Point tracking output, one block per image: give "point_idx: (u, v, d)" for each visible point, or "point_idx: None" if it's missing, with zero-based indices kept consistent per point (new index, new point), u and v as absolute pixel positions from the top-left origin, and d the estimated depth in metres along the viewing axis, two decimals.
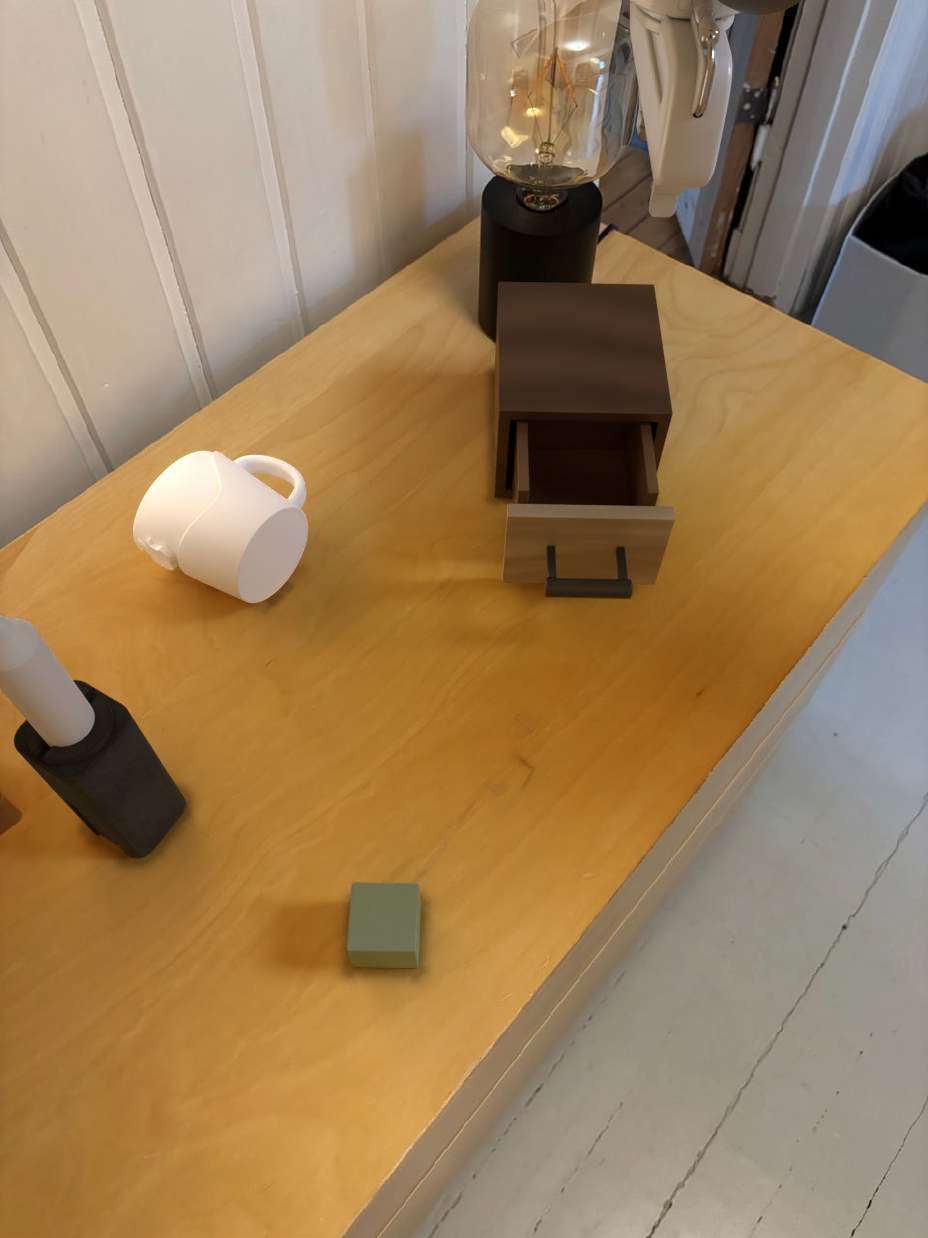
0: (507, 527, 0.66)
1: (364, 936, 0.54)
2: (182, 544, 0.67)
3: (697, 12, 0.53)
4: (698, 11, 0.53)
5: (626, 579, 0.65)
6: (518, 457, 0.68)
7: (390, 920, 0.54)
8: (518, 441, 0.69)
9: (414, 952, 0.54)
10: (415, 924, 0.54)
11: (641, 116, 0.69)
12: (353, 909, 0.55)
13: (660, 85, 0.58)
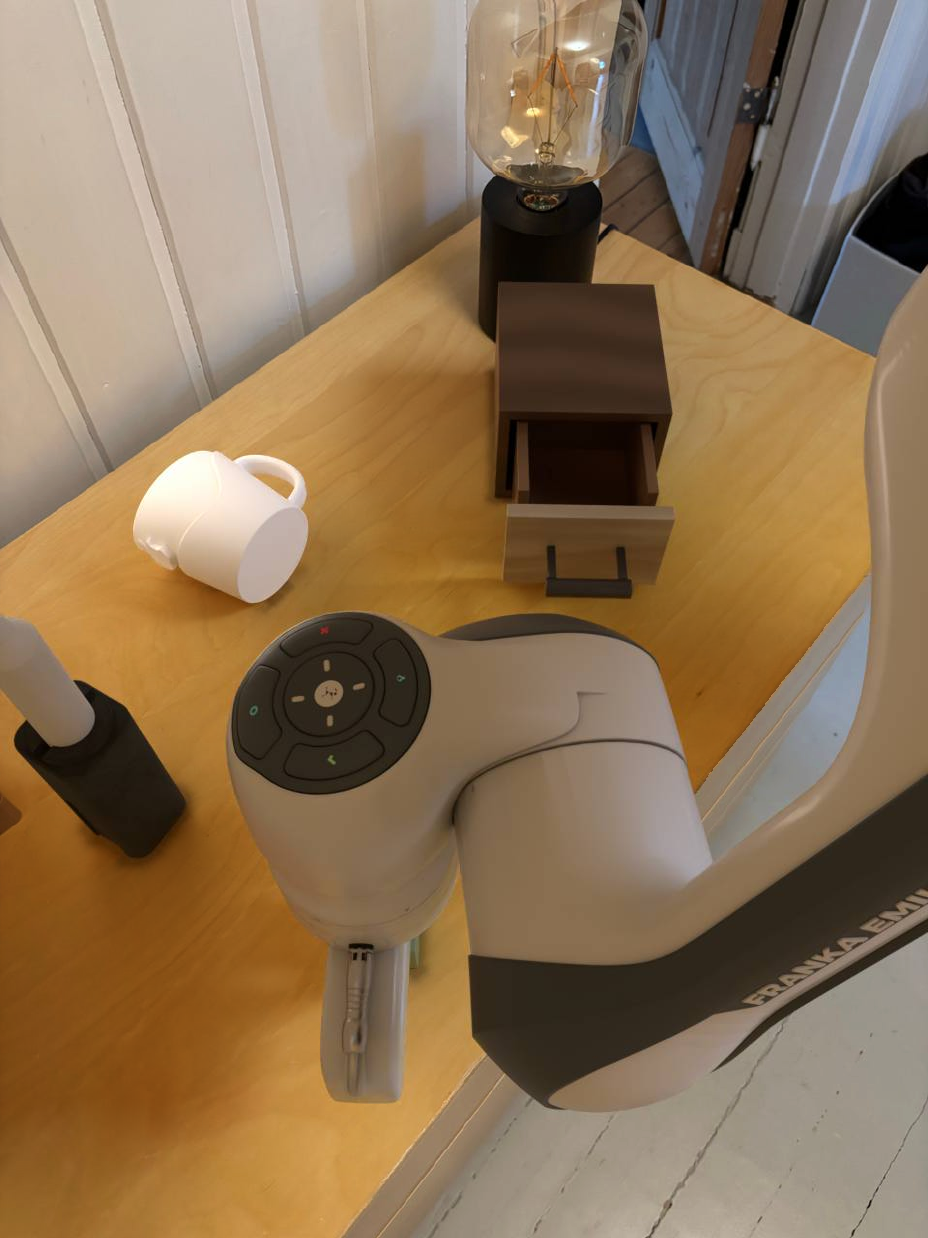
0: (507, 527, 0.66)
1: None
2: (182, 544, 0.67)
3: (346, 991, 0.42)
4: (347, 990, 0.42)
5: (626, 579, 0.65)
6: (518, 457, 0.68)
7: None
8: (518, 441, 0.69)
9: (414, 952, 0.54)
10: None
11: None
12: None
13: None
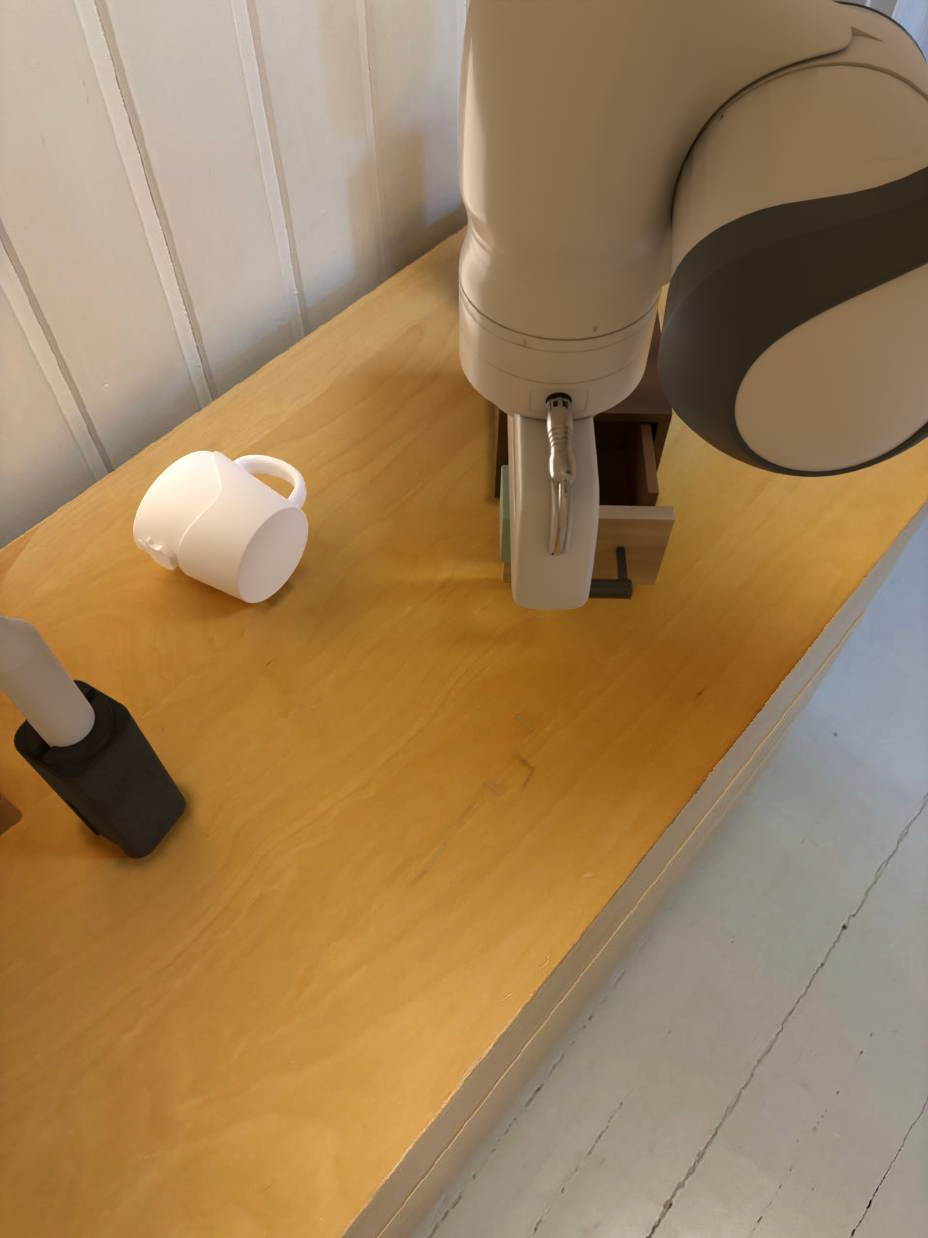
0: None
1: None
2: (182, 544, 0.67)
3: (549, 433, 0.40)
4: (550, 432, 0.40)
5: (626, 579, 0.65)
6: None
7: None
8: None
9: None
10: None
11: None
12: (506, 485, 0.53)
13: None
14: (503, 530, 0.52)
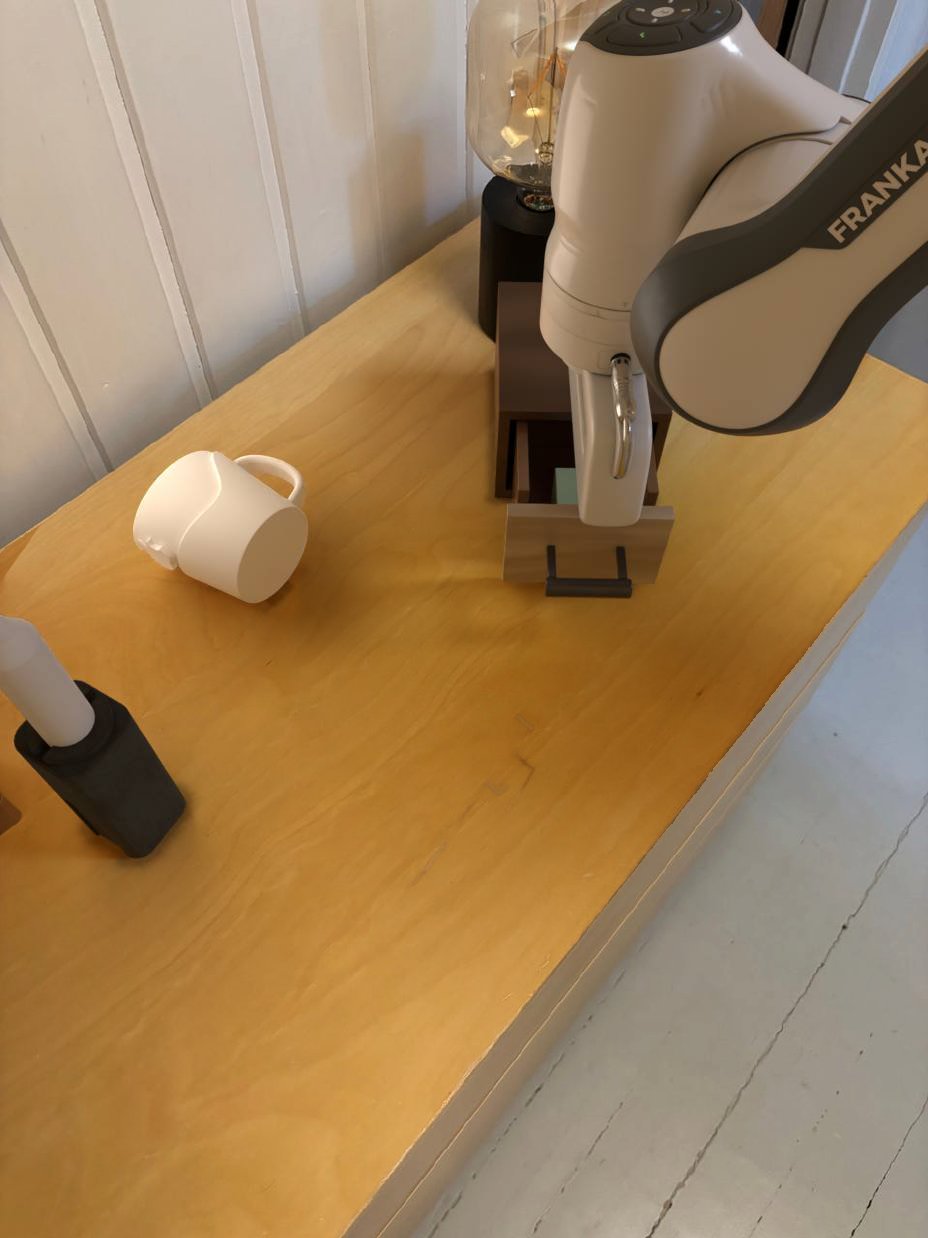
0: (507, 527, 0.66)
1: (569, 499, 0.69)
2: (182, 544, 0.67)
3: (615, 383, 0.52)
4: (615, 382, 0.52)
5: (626, 579, 0.65)
6: (518, 457, 0.68)
7: None
8: (518, 441, 0.69)
9: None
10: None
11: None
12: (558, 483, 0.70)
13: (584, 426, 0.57)
14: None
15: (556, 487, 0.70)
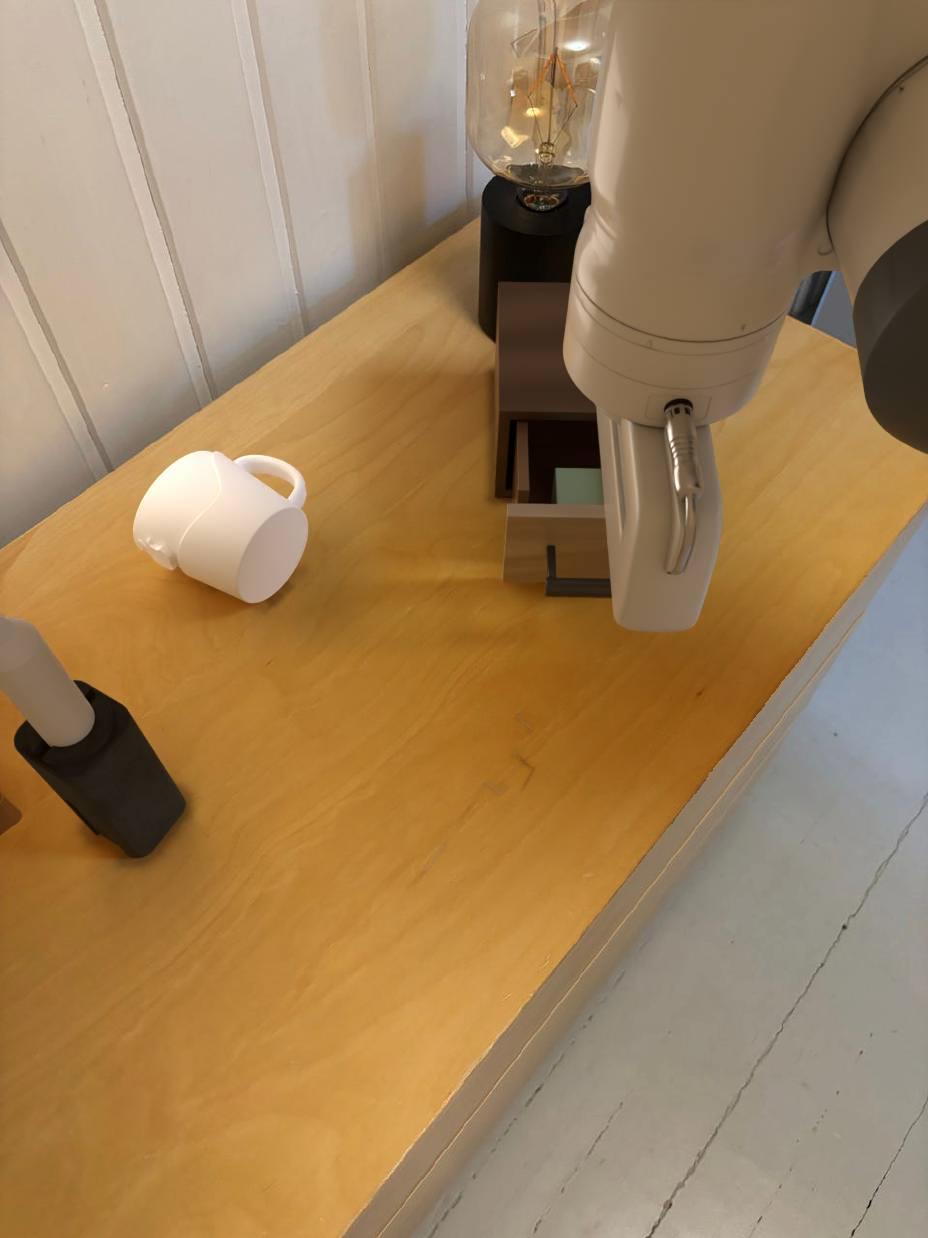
0: (507, 527, 0.66)
1: (569, 499, 0.69)
2: (182, 544, 0.67)
3: (672, 442, 0.37)
4: (672, 441, 0.37)
5: None
6: (518, 457, 0.68)
7: (589, 490, 0.70)
8: (518, 441, 0.69)
9: None
10: None
11: None
12: (558, 483, 0.70)
13: (623, 493, 0.42)
14: None
15: (556, 487, 0.70)
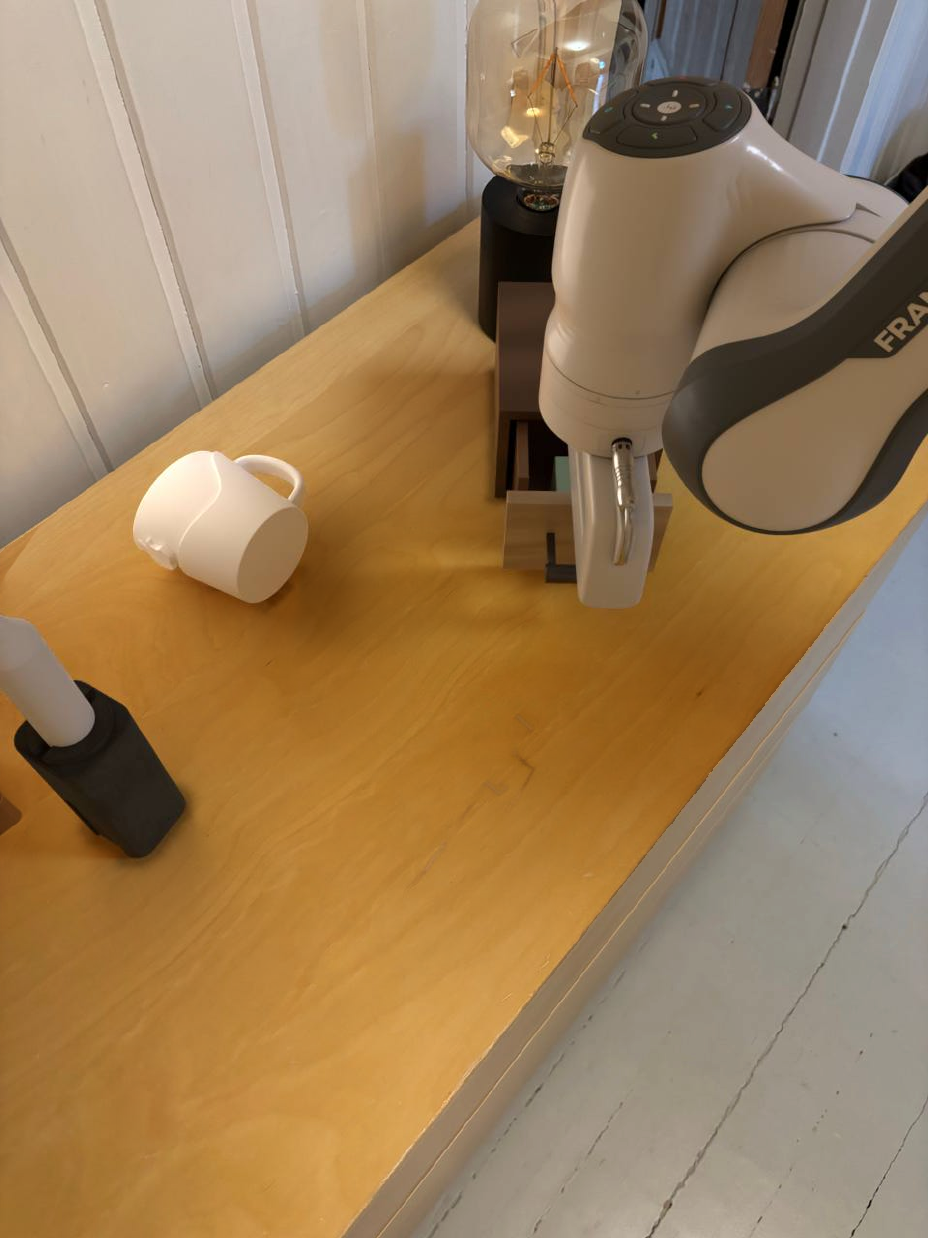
0: (507, 514, 0.66)
1: (569, 487, 0.70)
2: (182, 544, 0.67)
3: (616, 470, 0.51)
4: (616, 469, 0.51)
5: None
6: (518, 445, 0.69)
7: None
8: (518, 429, 0.69)
9: None
10: None
11: None
12: (558, 471, 0.70)
13: (584, 505, 0.56)
14: None
15: (555, 475, 0.70)
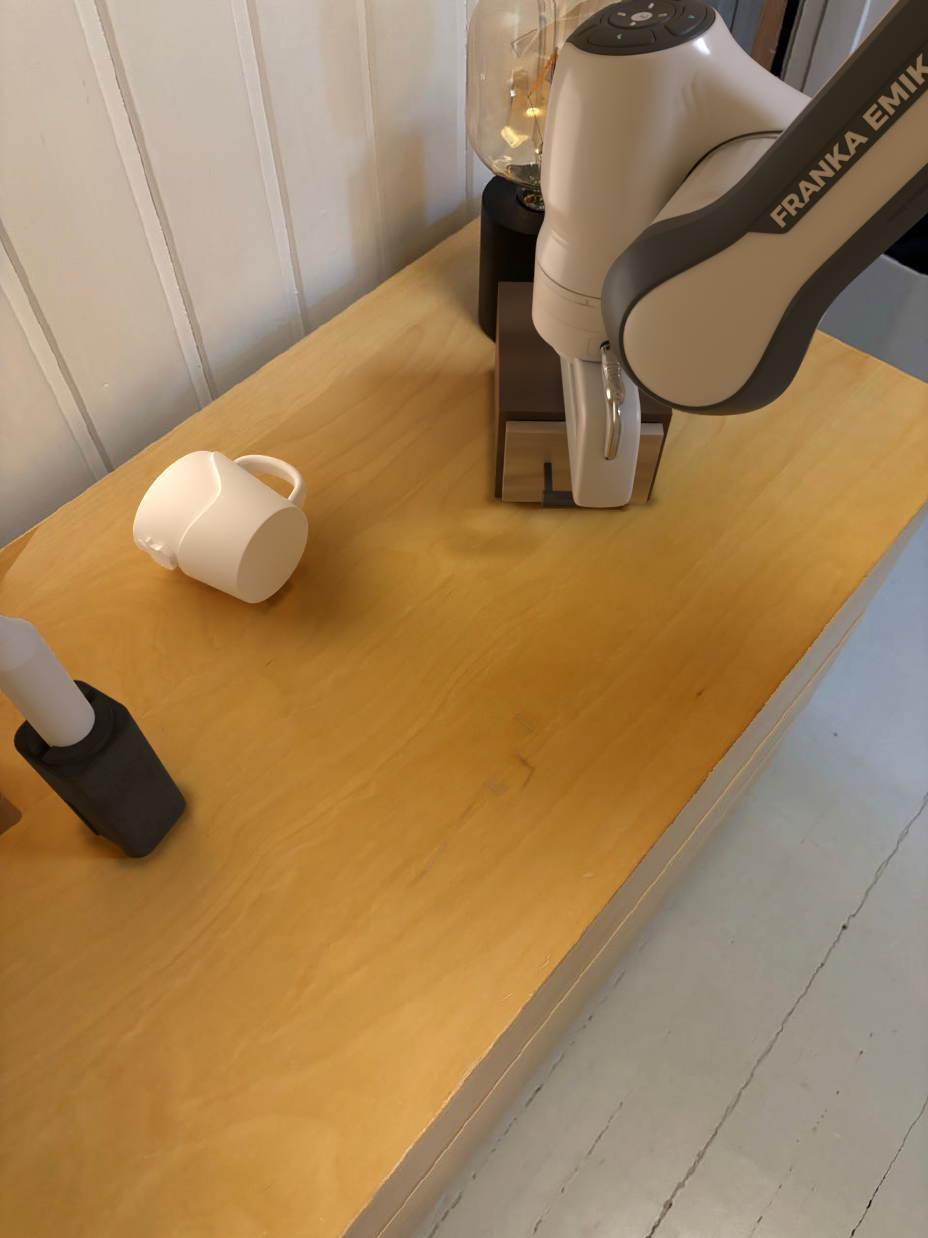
0: (506, 443, 0.70)
1: None
2: (182, 544, 0.67)
3: (604, 368, 0.55)
4: (605, 367, 0.55)
5: None
6: None
7: None
8: None
9: None
10: None
11: None
12: None
13: (576, 412, 0.60)
14: None
15: None
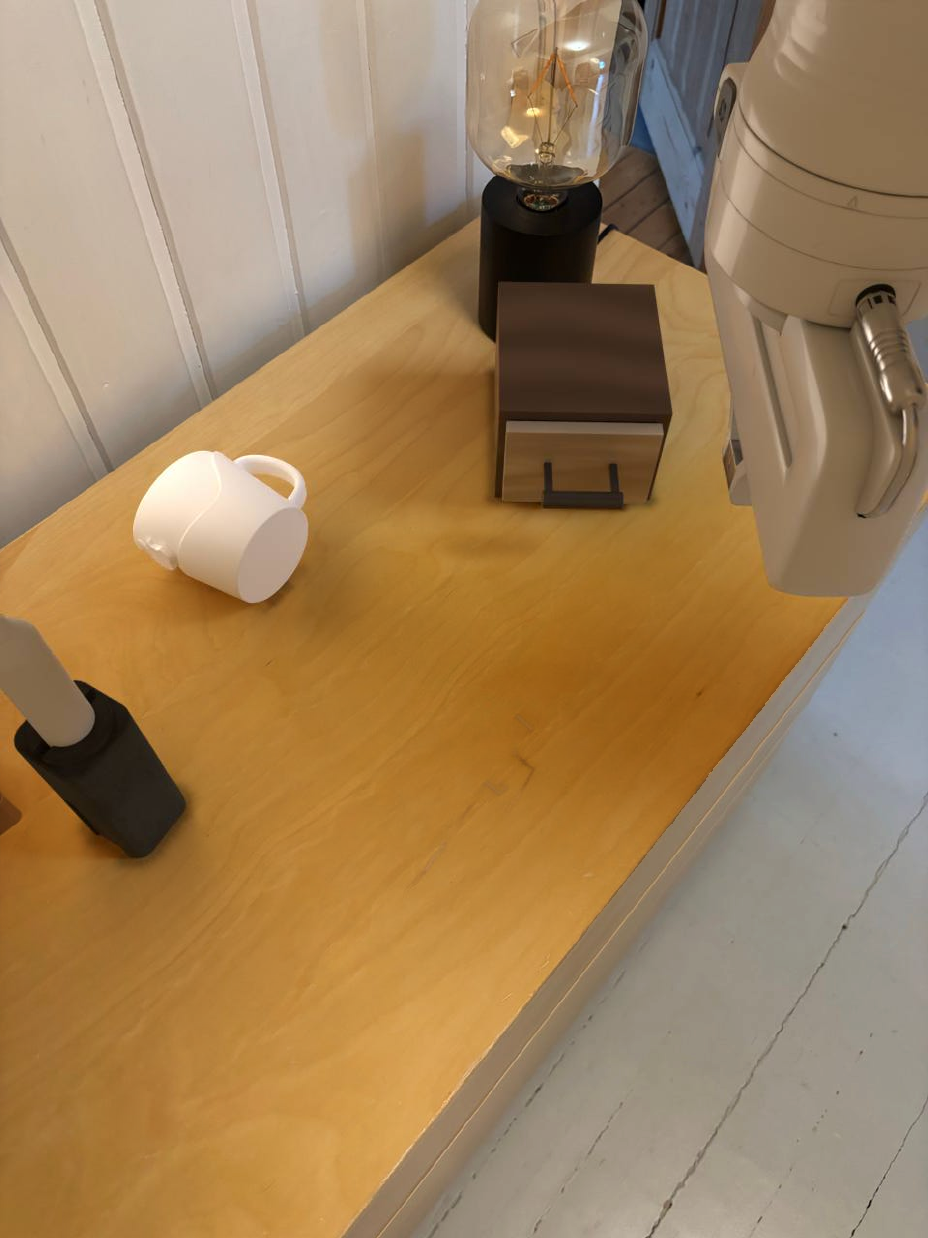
0: (506, 443, 0.70)
1: None
2: (182, 544, 0.67)
3: (875, 339, 0.28)
4: (876, 337, 0.28)
5: (618, 491, 0.70)
6: None
7: None
8: None
9: None
10: None
11: (733, 451, 0.41)
12: None
13: (782, 420, 0.33)
14: None
15: None
